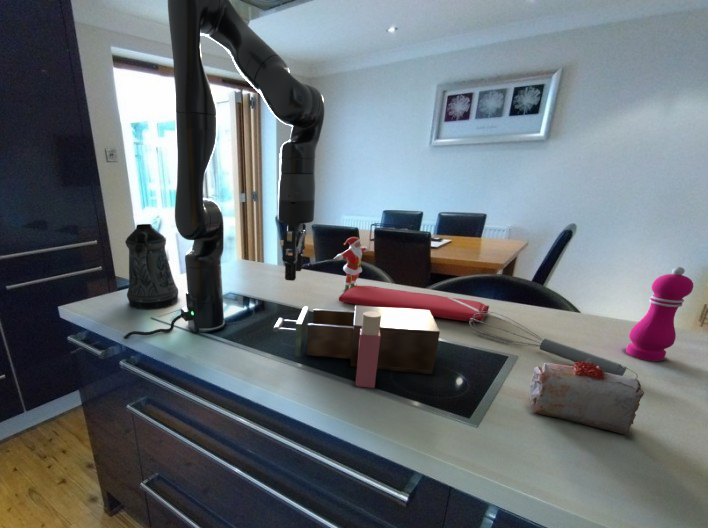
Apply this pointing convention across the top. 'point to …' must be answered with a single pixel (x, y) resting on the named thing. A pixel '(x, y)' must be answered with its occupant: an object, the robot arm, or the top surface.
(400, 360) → the cabinet
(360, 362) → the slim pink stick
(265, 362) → the top surface
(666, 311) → the pepper mill
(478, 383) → the top surface
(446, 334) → the top surface
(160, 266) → the beer stein
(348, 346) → the drawer
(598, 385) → the food item
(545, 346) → the kitchen whisk
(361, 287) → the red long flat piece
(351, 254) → the santa figurine
